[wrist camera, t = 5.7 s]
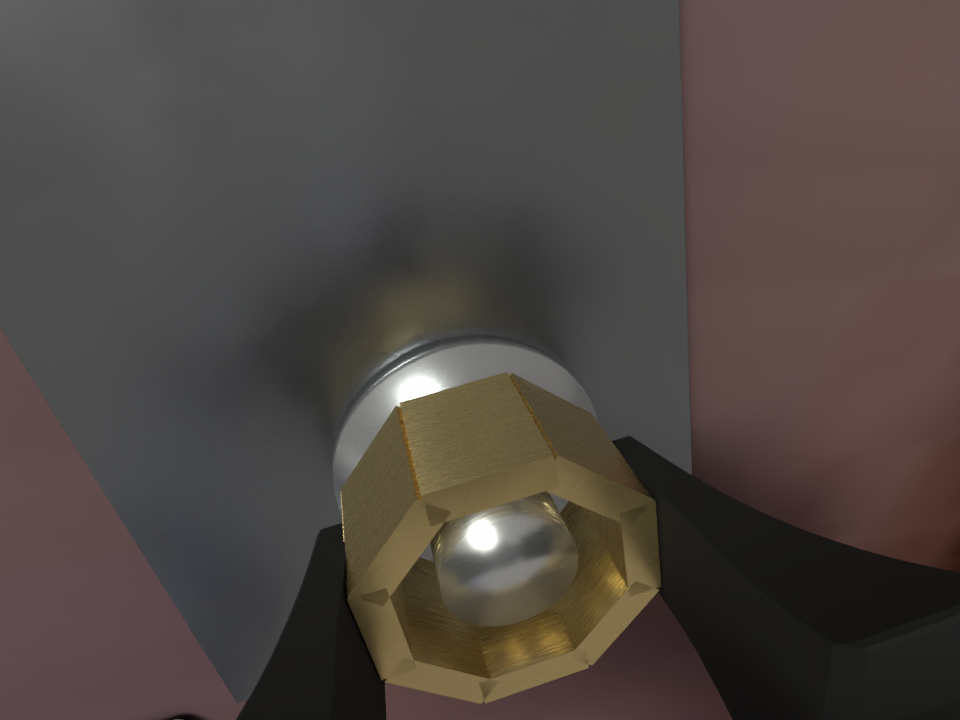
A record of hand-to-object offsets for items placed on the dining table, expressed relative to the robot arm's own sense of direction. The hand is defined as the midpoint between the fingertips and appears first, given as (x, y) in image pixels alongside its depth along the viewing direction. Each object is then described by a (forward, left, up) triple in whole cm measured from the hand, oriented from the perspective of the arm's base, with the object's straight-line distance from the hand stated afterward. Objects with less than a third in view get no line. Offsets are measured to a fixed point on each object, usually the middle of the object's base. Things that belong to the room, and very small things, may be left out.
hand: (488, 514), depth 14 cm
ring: (0, 0, -1) cm, 1 cm away
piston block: (+4, +1, -3) cm, 5 cm away
